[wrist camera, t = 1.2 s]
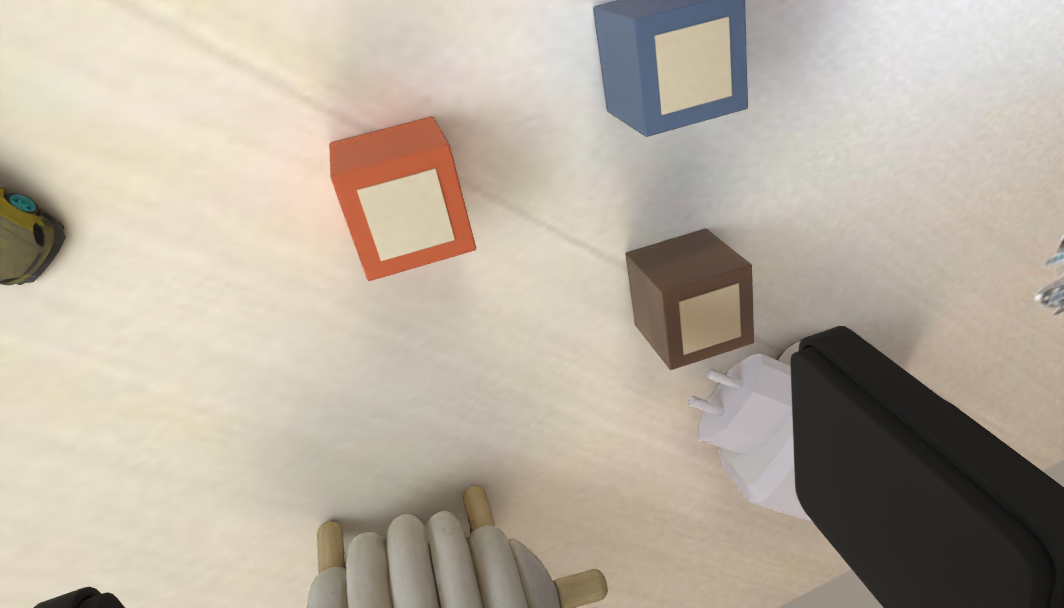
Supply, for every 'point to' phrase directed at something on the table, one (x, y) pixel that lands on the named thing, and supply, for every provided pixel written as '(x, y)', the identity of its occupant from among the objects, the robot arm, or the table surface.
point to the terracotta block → (401, 197)
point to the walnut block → (691, 297)
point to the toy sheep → (442, 567)
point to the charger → (755, 429)
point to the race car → (26, 239)
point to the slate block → (672, 61)
